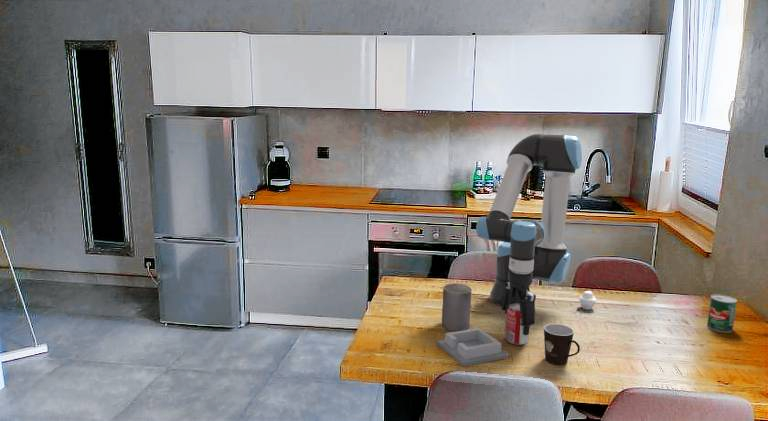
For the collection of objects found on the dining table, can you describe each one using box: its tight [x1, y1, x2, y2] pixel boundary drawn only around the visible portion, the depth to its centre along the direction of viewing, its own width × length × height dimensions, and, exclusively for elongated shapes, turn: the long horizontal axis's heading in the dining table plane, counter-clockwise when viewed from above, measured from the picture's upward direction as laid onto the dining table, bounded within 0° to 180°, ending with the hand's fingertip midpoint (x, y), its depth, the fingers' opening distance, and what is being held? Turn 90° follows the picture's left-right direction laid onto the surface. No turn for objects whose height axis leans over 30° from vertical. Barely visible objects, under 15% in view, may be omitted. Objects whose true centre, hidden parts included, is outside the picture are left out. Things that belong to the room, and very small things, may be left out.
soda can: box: [504, 303, 522, 346], centre depth 181 cm, size 7×7×12 cm
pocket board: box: [437, 327, 510, 367], centre depth 174 cm, size 16×16×4 cm
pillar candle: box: [441, 283, 473, 332], centre depth 192 cm, size 10×10×15 cm
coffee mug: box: [543, 323, 581, 366], centre depth 167 cm, size 12×9×10 cm
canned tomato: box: [706, 293, 738, 334], centre depth 195 cm, size 8×8×11 cm
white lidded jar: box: [578, 290, 597, 311], centre depth 212 cm, size 6×6×7 cm
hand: (516, 338), depth 182 cm, fingers closed on soda can, 7 cm apart
